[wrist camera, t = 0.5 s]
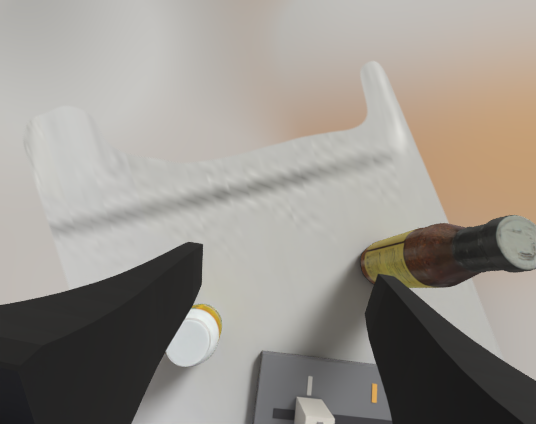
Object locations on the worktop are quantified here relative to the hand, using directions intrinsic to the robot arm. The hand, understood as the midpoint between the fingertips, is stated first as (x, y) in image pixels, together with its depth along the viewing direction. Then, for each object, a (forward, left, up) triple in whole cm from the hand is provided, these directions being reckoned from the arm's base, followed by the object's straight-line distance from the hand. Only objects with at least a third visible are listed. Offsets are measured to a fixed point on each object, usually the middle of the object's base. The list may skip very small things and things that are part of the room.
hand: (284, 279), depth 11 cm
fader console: (-15, -13, -26) cm, 32 cm away
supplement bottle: (-7, +6, -26) cm, 27 cm away
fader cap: (-15, -8, -24) cm, 29 cm away
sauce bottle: (+4, -17, -26) cm, 31 cm away
